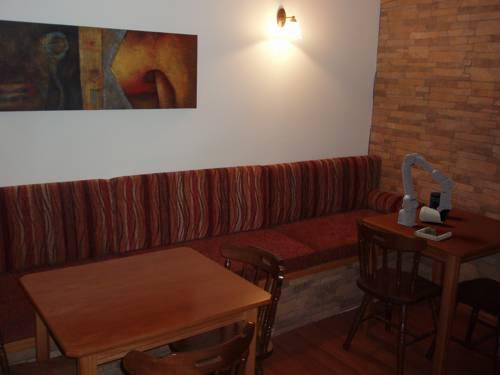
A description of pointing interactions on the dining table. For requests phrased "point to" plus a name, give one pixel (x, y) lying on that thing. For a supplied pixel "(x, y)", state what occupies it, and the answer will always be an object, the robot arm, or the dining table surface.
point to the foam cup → (429, 215)
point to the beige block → (430, 231)
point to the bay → (422, 231)
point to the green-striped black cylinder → (434, 200)
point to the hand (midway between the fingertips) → (442, 221)
